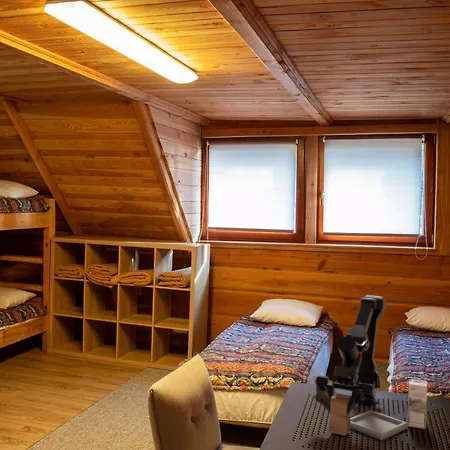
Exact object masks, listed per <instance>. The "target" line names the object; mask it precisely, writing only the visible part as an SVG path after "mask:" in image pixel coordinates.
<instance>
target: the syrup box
mask: <svg viewBox="0 0 450 450" xmlns="http://www.w3.org/2000/svg"><path fill="white" fill-rule="evenodd" d="M407 396H408V397H407V400H408V401H407V428H414V429H422V430H426V428H427V403H428V401H427V400H428V382H427V380H421V379H412V378H411V379H408V395H407Z"/></svg>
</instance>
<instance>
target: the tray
mask: <svg viewBox="0 0 450 450" xmlns="http://www.w3.org/2000/svg"><path fill="white" fill-rule="evenodd" d="M406 429H408V421H404V420H402V419H401V420H400V419H398V418H395V417H392V416H389V415H386V414H384V413H380V412H378V411H374V410H371V409H369V410H366V411H365V412H364V411H363V412H362V413H360V414H357V415H355V416H354V415H353V417H350V430H354V431H356V432H359V433H362V434H363V435H364V434H365V435H367V436H370V437H372V438H375V439H377V440H380V441H384V440H386V439H388V438H391V437H393V436H394V435H397V434H398V433H401V432H403V431H404V430H405V431H406Z"/></svg>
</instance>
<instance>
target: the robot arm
mask: <svg viewBox="0 0 450 450" xmlns="http://www.w3.org/2000/svg"><path fill="white" fill-rule="evenodd" d="M386 309H387V299H384V296H382V295H381V296H379V295H372V294H371V295H370V294H366V295H365V296H364V297H360V307H359V309H358V314H357V316H356V320H355V322H354V326H353V327H351V328H350V329H349V330H348V332H347V333H346V334H345V336H343V337H341V338H340V339H339V340H338V341H337V343H336V344H337V348H338V350H339V353H340V356H341V358H342V362H341V364H340V365H335V366H334V371H333V376H334V377H335V381H333V380H330V377H329V376H325V375H317V376H316V377H315V380H314V384H315V386H316V385H317V387H318V390H320V391H325V392H327V394H329V402H330V403H331V397H332V396H333V395H334V394H335V393H336V389H337V390H342V391H349V392H351V395H350V396H351V399H350V402H349V405H348V408H347V414H349V413H350V412H352V411H353V409H354V408H355V407H356V406H357V405H358V404H362V405H365V406H367V407H370V406H373V405H375V404H377V403H379V402H380V401H379V400H378V399H376V396H377V391H376V390H377V389H381V386H382V385H381V383H382V382H381V377H380V375H379V372H378V369H379V368H378V366H377V363H376V361H375V353H376V345H377V337H378V330H379V329H378V328H379V321H380V319H381V318H382V317H383V316H384V314H385V310H386ZM360 353H361V354H360Z"/></svg>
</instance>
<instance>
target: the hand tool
mask: <svg viewBox="0 0 450 450" xmlns="http://www.w3.org/2000/svg"><path fill="white" fill-rule="evenodd" d="M315 390H316V396H317V397H318V399H320V398H321V399H320V400H323V402H325V403H326V404H327V405H328V406H329V407H330V402H329V394H327V392H325V391H320V390H318V387H317V385H316V384H315Z"/></svg>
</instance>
